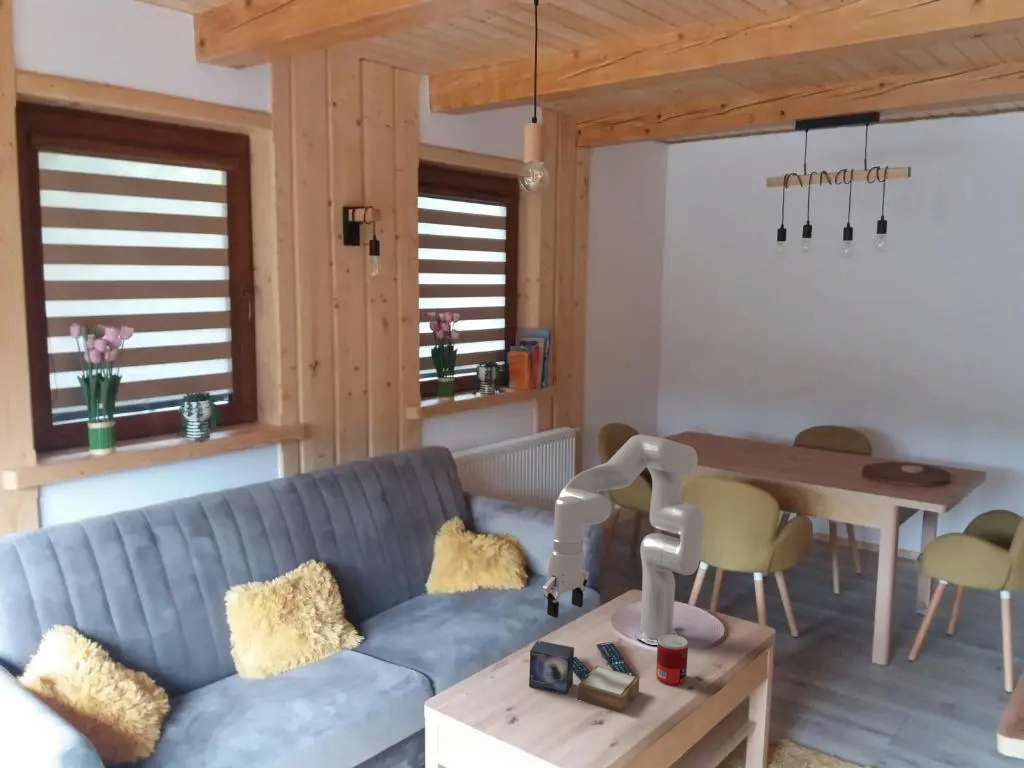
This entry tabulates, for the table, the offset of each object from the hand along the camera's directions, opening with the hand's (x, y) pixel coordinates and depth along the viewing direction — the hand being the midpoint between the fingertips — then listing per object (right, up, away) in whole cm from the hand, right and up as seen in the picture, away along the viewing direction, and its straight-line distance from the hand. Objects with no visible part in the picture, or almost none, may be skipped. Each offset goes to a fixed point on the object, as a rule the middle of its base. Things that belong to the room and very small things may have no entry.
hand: (565, 610), depth 215 cm
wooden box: (+11, -22, +2) cm, 25 cm away
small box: (-3, -22, +7) cm, 23 cm away
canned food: (+29, -22, +11) cm, 38 cm away
